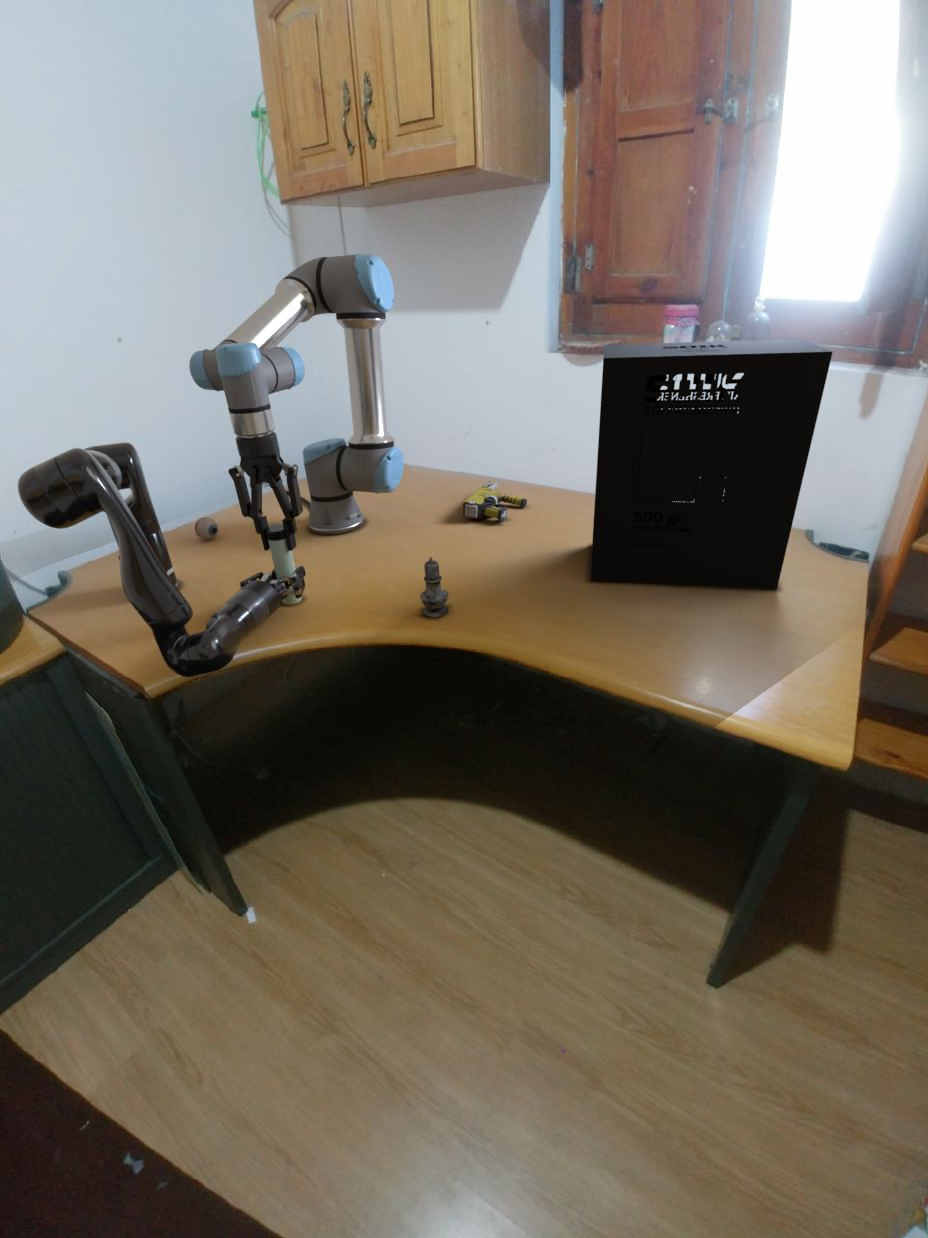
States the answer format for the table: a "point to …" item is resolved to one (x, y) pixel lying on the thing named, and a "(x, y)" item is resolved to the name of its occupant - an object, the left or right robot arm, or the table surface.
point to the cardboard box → (703, 460)
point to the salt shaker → (433, 591)
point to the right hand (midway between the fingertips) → (280, 547)
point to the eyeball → (206, 528)
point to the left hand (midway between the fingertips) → (292, 569)
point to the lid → (275, 532)
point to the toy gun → (489, 503)
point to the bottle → (283, 564)
